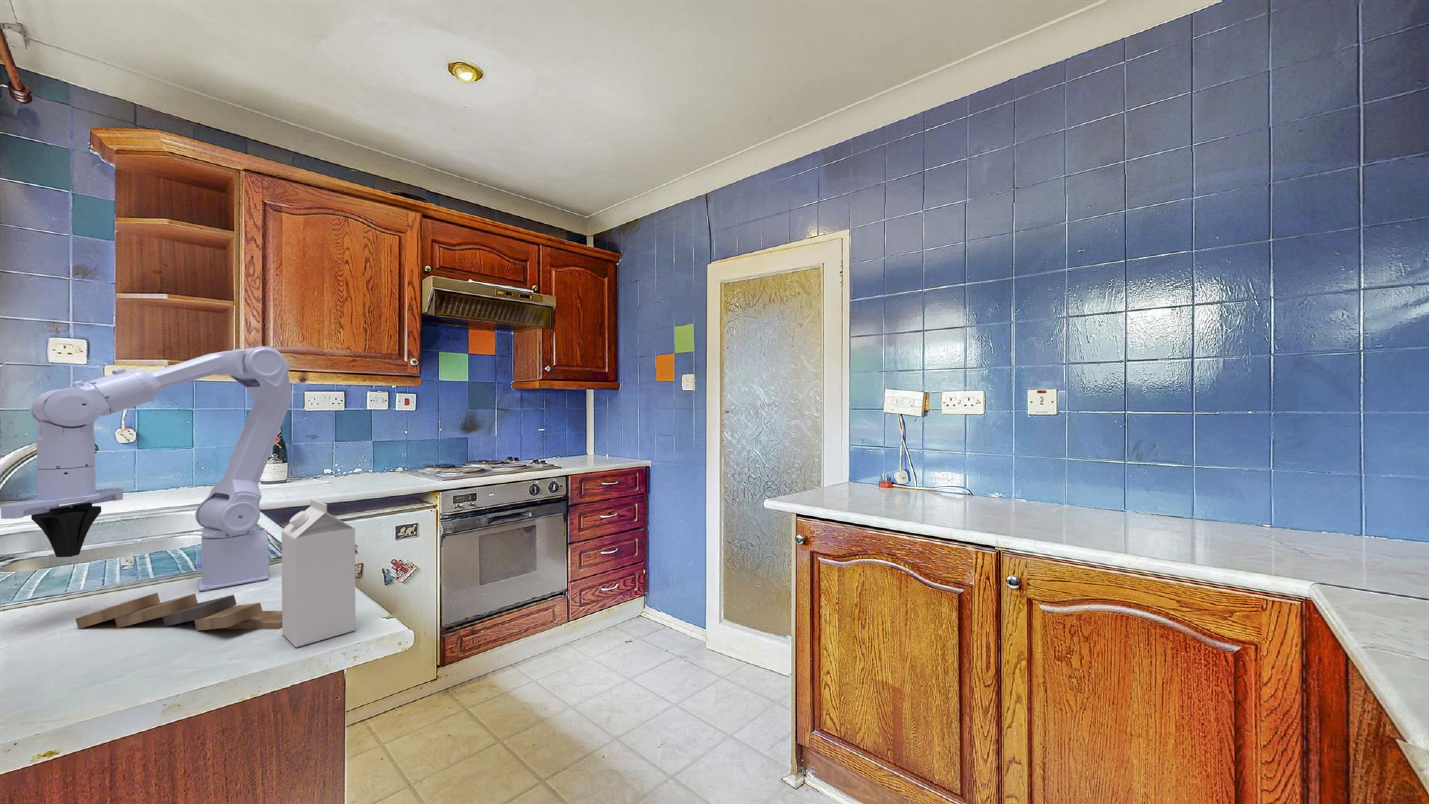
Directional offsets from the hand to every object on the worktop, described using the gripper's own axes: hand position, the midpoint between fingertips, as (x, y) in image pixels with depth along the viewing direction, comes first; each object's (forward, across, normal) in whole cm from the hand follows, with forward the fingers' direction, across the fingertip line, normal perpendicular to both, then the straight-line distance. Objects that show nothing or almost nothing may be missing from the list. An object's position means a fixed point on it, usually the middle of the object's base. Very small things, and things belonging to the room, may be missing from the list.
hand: (67, 555), depth 83 cm
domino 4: (+10, -2, -27) cm, 29 cm away
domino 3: (+9, -3, -24) cm, 26 cm away
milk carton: (+10, -7, -42) cm, 43 cm away
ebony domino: (+9, -1, -18) cm, 20 cm away
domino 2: (+9, -1, -10) cm, 14 cm away
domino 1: (+9, -1, -5) cm, 10 cm away
